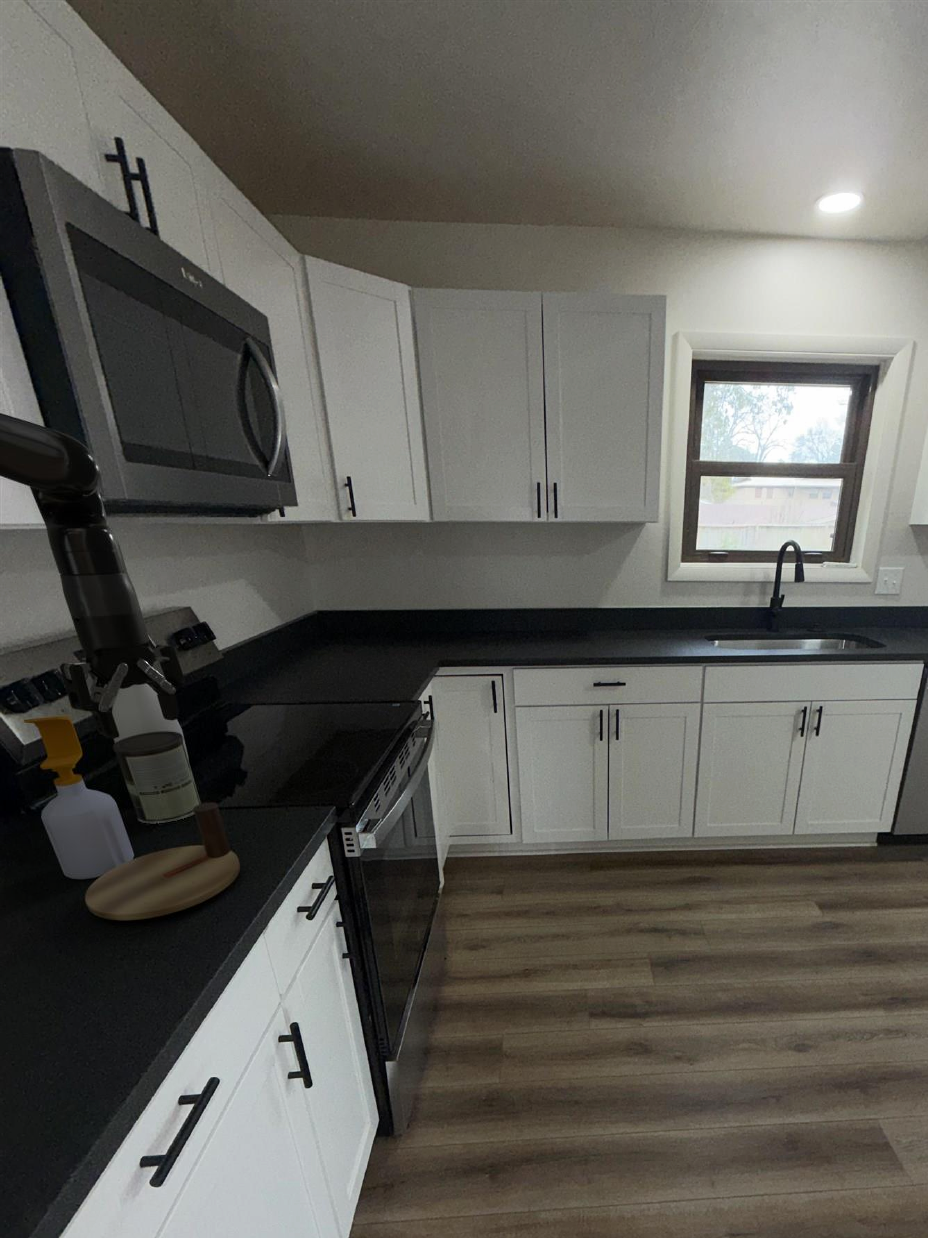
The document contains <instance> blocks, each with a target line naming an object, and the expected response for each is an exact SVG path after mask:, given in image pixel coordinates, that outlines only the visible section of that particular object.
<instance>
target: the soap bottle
mask: <svg viewBox="0 0 928 1238" xmlns="http://www.w3.org/2000/svg"><path fill="white" fill-rule="evenodd" d="M23 722H24V724H25V723H26V724H34V725H35V726H36V727H37V730H38V732H39V735H40V738H41V740H42V742H43V745H44V748H45V750H46V755H47V757H46V759H45V760H44V761H43V762H42V763H41V764H40V765H39V767H40V769H41V770H49V769H50V770H51V771H52V772H55V773H57V774H58V777H57V778H55V779H53V783H54V786H55V788H56V789H55V790H56V792H57V795H56V797H54V798H53V799H51V800H49V802H48V803H47V804H46V805H45V806H44V808H43V809H42V810H41V816H40V818H41V820H42V823H43V826H44V828H45V831H46V833H47V836H48V838H49V841H50V843H51V845H52V849H53V850H54V853H55V856H56V858H57V860H58V863H59V866H60V867H61V871H62V872H63V875H64V876H65V877H67V878H69V879H72V880H88V879H97V878H99V877H101V876H102V875H104V874H105V873H107V872H108V871H110V870H112V869H114V868H115V867H117V866H119V865H121V864H123V863H126V862H128V861H130V860H133V859H134V857H135V853H134V851H133V847H132V845H131V842H130V841H131V840H130V838H129V836H128V833H127V830H126V826H125V825H124V821H123V818H122V815H121V812H120V810H119V807H118V804H117V802H116V800H115V799H114V798H113V797H112V796H111V795H110V794H108V793H105V792H103V791H99V790H97V789H89V788H87V787H86V784H85V781H84V778H83V777H82V774H78V773H74V771H73V769H75V768H76V764H77V763H78V762H79V761H80V760H81V758H82V757H83V749H82V747H81V743H80V740H79V738H78V737H79V736H78V735H77V732H76V729H75V726H74V724H73V721H72V719H71V718H70V717H69V716H47V717H38V718H28V719H27V718H26V719H23Z"/></svg>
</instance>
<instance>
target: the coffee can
mask: <svg viewBox="0 0 928 1238" xmlns="http://www.w3.org/2000/svg"><path fill="white" fill-rule="evenodd" d="M183 736H184V735H183ZM183 736H182V735H181V734H180V733H177V732H171V731H160V732H150V733H144V734H138V735H134V736H131V737H127V738H124V739H122V740H120V741H118V742H116V743H115V742H114V744H112V749H113V752H114V753H115V755H116V758H117V762H118V764H119V767H120V770H121V773H122V777H123V779H124V782H125V785H126V787H127V790H128V794H129V797H130V800H131V803H132V805H133V808H134V812H135V814H136V819H138V820H137V821H138V822H139V821H140V822H142V823H141V824H143V823H147V824H146V825H149V824H148V823H150V824H156V823H158V824H159V823H166V822H171V821H176V822H178V821H177V820H180V819H183V820H185V819H184V818H186V819H188V818H191V817H192V816H195V814H194V810H193V808H194V807H195V806H197V805H200V804H202V802H201V799H200V796H199V793H198V788H197V785H196V782H195V778H194V775H193V771H192V768H191V764H190V761H188V760H189V756H188V757H187V754H188V753H187V754H186V750H185V747H184V743H183ZM187 817H188V818H187ZM180 821H181V820H180ZM140 822H139V823H140ZM159 825H160V824H159Z"/></svg>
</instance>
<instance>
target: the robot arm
mask: <svg viewBox="0 0 928 1238" xmlns="http://www.w3.org/2000/svg"><path fill="white" fill-rule="evenodd" d="M0 477H2V478H3V479H4V478H5V479H8V480H10V481H13V482H16V483H19V484H20V485H25V486H27V487H29V489H30V491H31V494H32V496H33V499H34V502H35V504H36V506H37V508H38V511H39V513H40V516H41V518H42V520H43V523H44V525H45V528H46V533H47V538H48V542H49V546H50V549H51V550H50V551H51V554H52V556H53V559H54V563H55V565H56V568H57V571H58V573H59V577H60V582H61V587H62V593H63V596H64V601H65V602H66V606H67V608H68V611H69V614H70V617H71V620H72V623H73V627H74V629H75V632H76V635H77V638H78V642H79V644H80V647H81V648H82V650H83V652H84V654H85V660H84V661H83V662H76V663H70V662H69V663H67V662H63V663H61V664H60V665H59V669H60V673H61V676H62V680H63V684H64V687H65V689H66V690H65V691H66V694H67V698H68V701H69V705H70V707H71V709H73V710H77V711H84V712H90V713H91V714H92V717H93V720H94V723H95V727H96V730H97V732H98V733H99V734H100V735H101V736H103V737H105V738H107V739H111V740H114V738H118V737H119V732H118V729H117V726H116V723H115V720H114V717H113V714H112V710H109V709H110V707H111V704H112V702H113V699H114V698H116V697H117V693H118V690H119V688H120V689H125V688H129V687H131V686H133V685H142V684H148V685H149V686H150V687H151V688H152V689H153V690H154V691H155V692H156V693H157V698H158V701H159V704H160V708H161V711H162V714H163V717H164V719H166V720H172V721H173V720H176V719H177V720H178V719H179V715H180V709H179V705H178V700H177V698H176V695H175V693H176V691H177V690H179V689H180V688H183V687H185V686H186V685H187V684H186V683H187V682H186V679H185V676H184V673H183V670H182V666H181V664H180V661H179V659H178V655H177V651H176V649H175V647H174V646H172V645H165V644H157V645H155V647H154V648H151V646H150V644H149V643H150V638H149V633H148V629H147V626H146V623H145V619H144V615H143V612H142V609H141V606H140V602H139V599H138V595H137V591H136V588H135V586H134V585H133V582H132V580H131V577H130V575H129V572H128V571H127V570H128V569H127V566H126V562H125V560H124V555H123V553H122V548H121V545H120V543H119V539H118V537H117V535H116V533H115V532H114V529H113V528H112V526H111V525H110V523H109V521H108V517H107V514H106V510H105V506H104V503H103V500H102V496H101V492H100V488H99V487H100V485H101V482H102V470H101V466H100V463H99V462H98V460H97V458H96V456H95V455H94V454H93V452H92V451H91V450H90V449H89V448H88V447H87V446H86V445H84V444H83V442H81V441H79V440H77V439H76V438H74V437H72V436H70V435H68V434H66V433H64V432H63V433H62V432H61V431H57V430H54V429H52V428H50V427H47V426H43V425H40V424H37V423H34V422H31V421H28V420H25V419H22V418H18V417H15V416H12V415H8V414H6V413H1V412H0ZM155 662H158V663H159V665H160V668H161V671H162V674H163V675H162V674H161V673H160V672H159V671H157V670H156V669H154V667H153V666H154V664H155ZM89 673H91V674H92V675H93V676H94V679H93V682H92V683H91V686H90V690H89V686H88V682H87V680H88V679H89V677H90V676H89ZM90 692H91V693H90Z"/></svg>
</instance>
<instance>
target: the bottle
mask: <svg viewBox="0 0 928 1238" xmlns="http://www.w3.org/2000/svg"><path fill="white" fill-rule="evenodd" d="M157 694H158V692H157V691H156V690H155V689H153V688H152V687H151V686H149V685H148V684H142V685H133V686H131V687H129V688H125V689H120V688H119V690H118V693H117V695H116V696H115V699H114V703H113V706H112V708H111V709H112V710H111V711H112V714H113V717H114V720H115V723H116V726H117V729H118V732H119V737H118V738H114V739H113V741H114V744H115V743H116V742H118V741H120V740H122V739H124V738H127V737H131V736H134V735H138V734H144V733H150V732H160V731H171V732H177V733H180V734H181V735H182V736H183V743H184V747H185V750H186V754H187V757H188V758H189V755H188V749H187V746H186V740H185V737H184V732H183V729H182V727H181V724H180V723H179V721H178V719H176V720H173V721H172V720H166V719H164V717H163V714H162V711H161V708H160V704H159V701H158V698H157ZM188 761H189V759H188ZM189 762H190V761H189Z"/></svg>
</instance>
